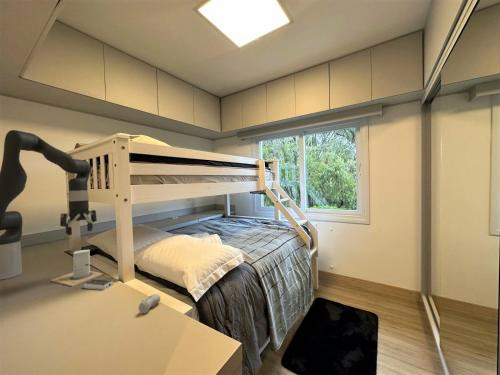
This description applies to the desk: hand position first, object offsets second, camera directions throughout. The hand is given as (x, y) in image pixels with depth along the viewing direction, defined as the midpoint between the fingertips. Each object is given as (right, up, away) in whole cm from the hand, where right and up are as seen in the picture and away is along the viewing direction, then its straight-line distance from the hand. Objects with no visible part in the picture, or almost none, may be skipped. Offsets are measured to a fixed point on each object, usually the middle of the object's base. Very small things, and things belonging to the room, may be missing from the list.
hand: (79, 232), depth 100 cm
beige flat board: (-1, -22, 0) cm, 22 cm away
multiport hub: (+17, -22, -10) cm, 30 cm away
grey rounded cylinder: (+48, -21, -27) cm, 59 cm away
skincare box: (+1, -22, 0) cm, 22 cm away
